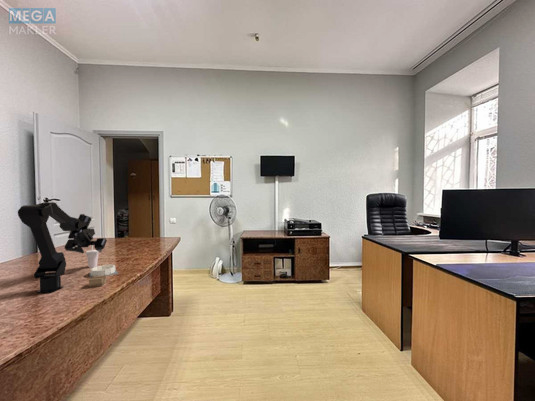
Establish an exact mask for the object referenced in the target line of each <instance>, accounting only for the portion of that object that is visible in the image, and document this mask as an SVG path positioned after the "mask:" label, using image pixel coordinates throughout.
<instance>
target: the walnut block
mask: <svg viewBox="0 0 535 401" xmlns="http://www.w3.org/2000/svg"><path fill="white" fill-rule="evenodd" d="M106 283H107V276H106V275H103V276H94V277H92V278H91V279H88V288H99V287H103V286H104V285H105V284H106Z"/></svg>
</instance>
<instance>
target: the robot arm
mask: <svg viewBox="0 0 535 401" xmlns="http://www.w3.org/2000/svg"><path fill="white" fill-rule="evenodd" d="M17 215H18V218H19V219H20V221H21V222H22V223H23V224H24V225H25V226H27V227H29V228H30V230H31V233H32V236H33V238H34V241H35V243H36V246H37V249H38V252H39V253H40V258H39V261H38V267H37V268H36V270H35V271H34V273H33V276H34V279H35V280H36V279H39V290H37V291H36V293H37V294H51V293H53V292H56V291H58V290H61V289H63V288H64V286H63V285H62V280H61V278H62V277H61V276H63V275H65V273H66V267H67V261H66V260H67V258H65V254H64V253H63V252H62V251H61V252H58V251H57V250H56V248H55V247H56V246H55V244H54V242H53V238H52V236H51V233H50V230H49V227H48V224H47V223H48V220H49V218H50V217H51V218H52V219H53V220H54V221H55V222H56V223H58V224H59V228H60V229H61V230H62V231H63V232H69V233H68V236H67V238H68V239H67V241H66V242H65V245H64V246H63V247H64V249H65V251H67V252H73V253H80V254H84V253H85V250H84V249H83V248H89V246H92V245H93V249H94V250H97V251H98V252H99V253H102V252H103V249H105V246H106V243H107V238H106V237H98V238H96V240H93V239H94V235H96V232H95V229H94V228H89V226H90V224H91V222H92V217H90V216H88V215H85V213H80V214H79V216H78V217H72V216H70V215H69V214H67V212H65V211H64V210H63V209H62V208H60V207H59V206H58V204H57V203H56V202H53V201H52V202H49V201H48V202H40V203H37V204H32V205H31V204H28V205H27V204H26V205H22V206H21V207H20V208H19V209H18V210H17Z"/></svg>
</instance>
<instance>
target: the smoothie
mask: <svg viewBox="0 0 535 401" xmlns="http://www.w3.org/2000/svg"><path fill="white" fill-rule="evenodd" d="M99 253H100V252H98V251H97V250H96V249H94V245H91V249H90V250H86V251H85V254H86V258H87V264H88V268H90V269H91V268H94V267H97V266H98V262H99V261H98V260H99Z"/></svg>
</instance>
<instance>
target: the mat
mask: <svg viewBox="0 0 535 401" xmlns="http://www.w3.org/2000/svg"><path fill="white" fill-rule="evenodd" d="M87 274H88V276H89V278H90V279H91V278H92V277H93V276H91V274H90V272H88V273H87ZM118 274H119V272H118V270H117V269H116V268H115V273H113V274H110V275H106V277H108V276H113V275H118ZM90 279H89V280H90Z"/></svg>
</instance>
